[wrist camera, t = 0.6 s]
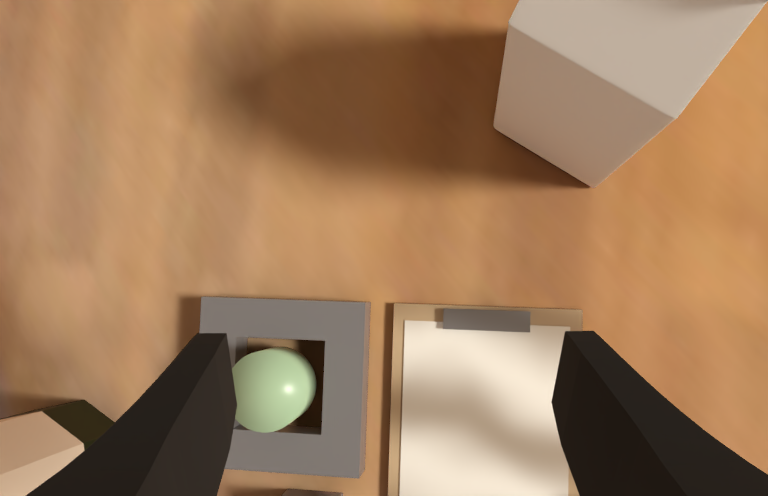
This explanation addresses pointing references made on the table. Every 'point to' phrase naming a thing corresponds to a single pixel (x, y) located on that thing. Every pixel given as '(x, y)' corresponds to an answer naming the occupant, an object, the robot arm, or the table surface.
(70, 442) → the wine bottle
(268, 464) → the button housing
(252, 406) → the button
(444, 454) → the tan flat tray
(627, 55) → the milk carton
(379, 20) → the table surface
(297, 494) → the grey rectangular bar
